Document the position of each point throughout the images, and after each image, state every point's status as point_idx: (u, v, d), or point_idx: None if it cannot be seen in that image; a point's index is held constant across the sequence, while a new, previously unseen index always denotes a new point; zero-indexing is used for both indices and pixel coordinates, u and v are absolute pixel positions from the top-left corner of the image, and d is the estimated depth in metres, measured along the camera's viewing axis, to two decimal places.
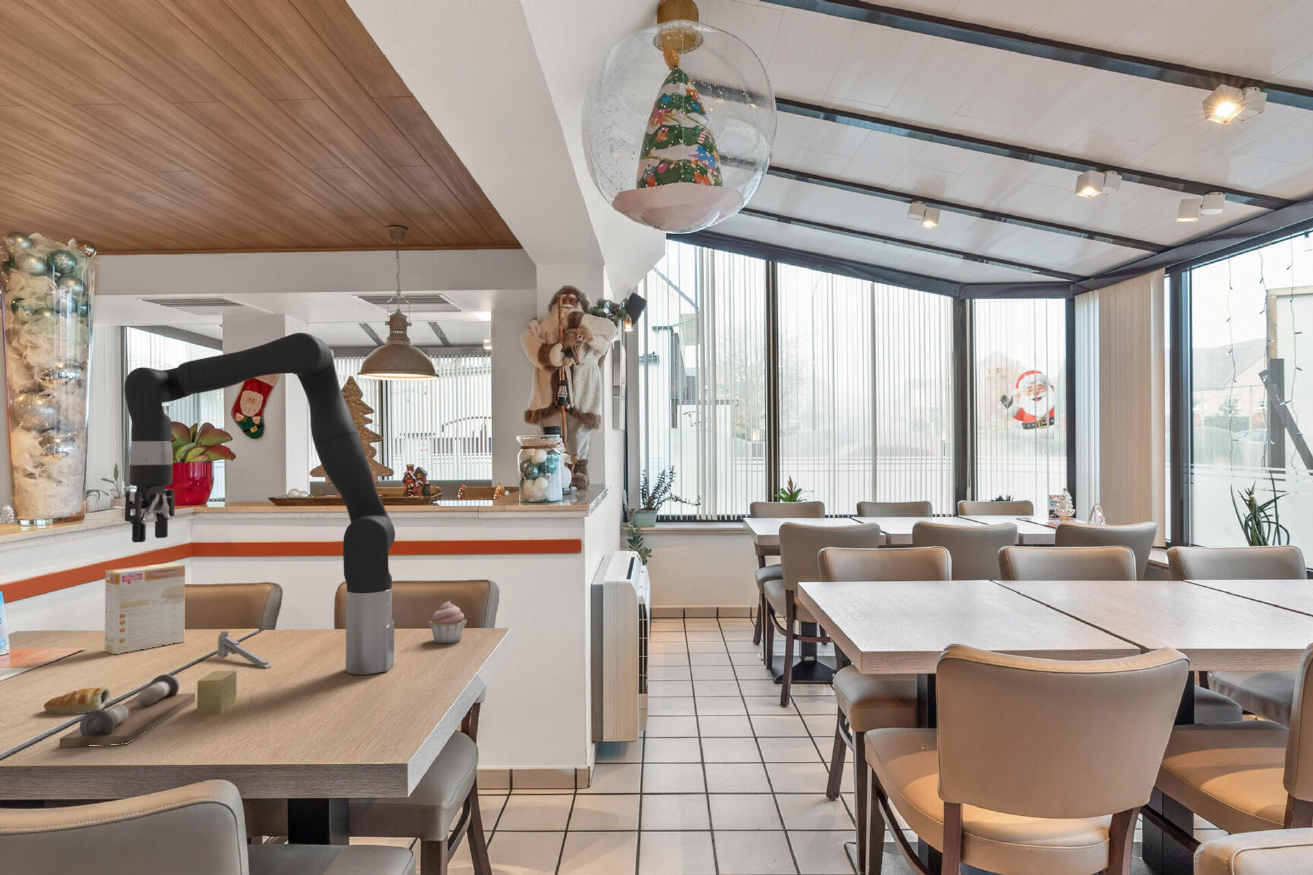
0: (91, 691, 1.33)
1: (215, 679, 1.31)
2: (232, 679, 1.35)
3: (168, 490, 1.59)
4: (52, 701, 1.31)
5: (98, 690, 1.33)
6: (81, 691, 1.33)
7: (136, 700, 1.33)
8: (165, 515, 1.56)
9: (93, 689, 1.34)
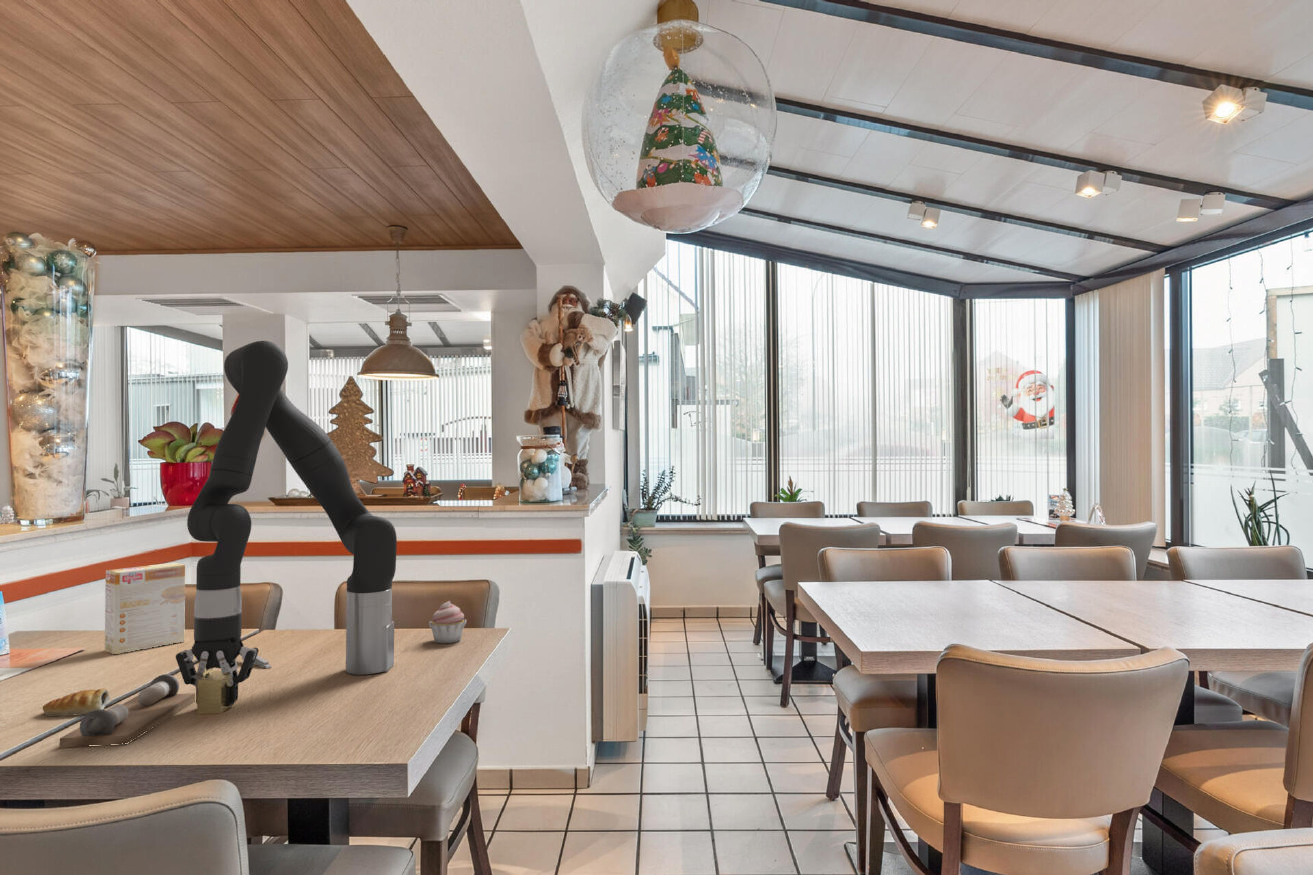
0: (91, 693, 1.32)
1: (215, 679, 1.31)
2: None
3: (185, 651, 1.33)
4: (51, 703, 1.30)
5: (98, 691, 1.33)
6: (81, 693, 1.32)
7: (136, 700, 1.33)
8: None
9: (93, 691, 1.34)
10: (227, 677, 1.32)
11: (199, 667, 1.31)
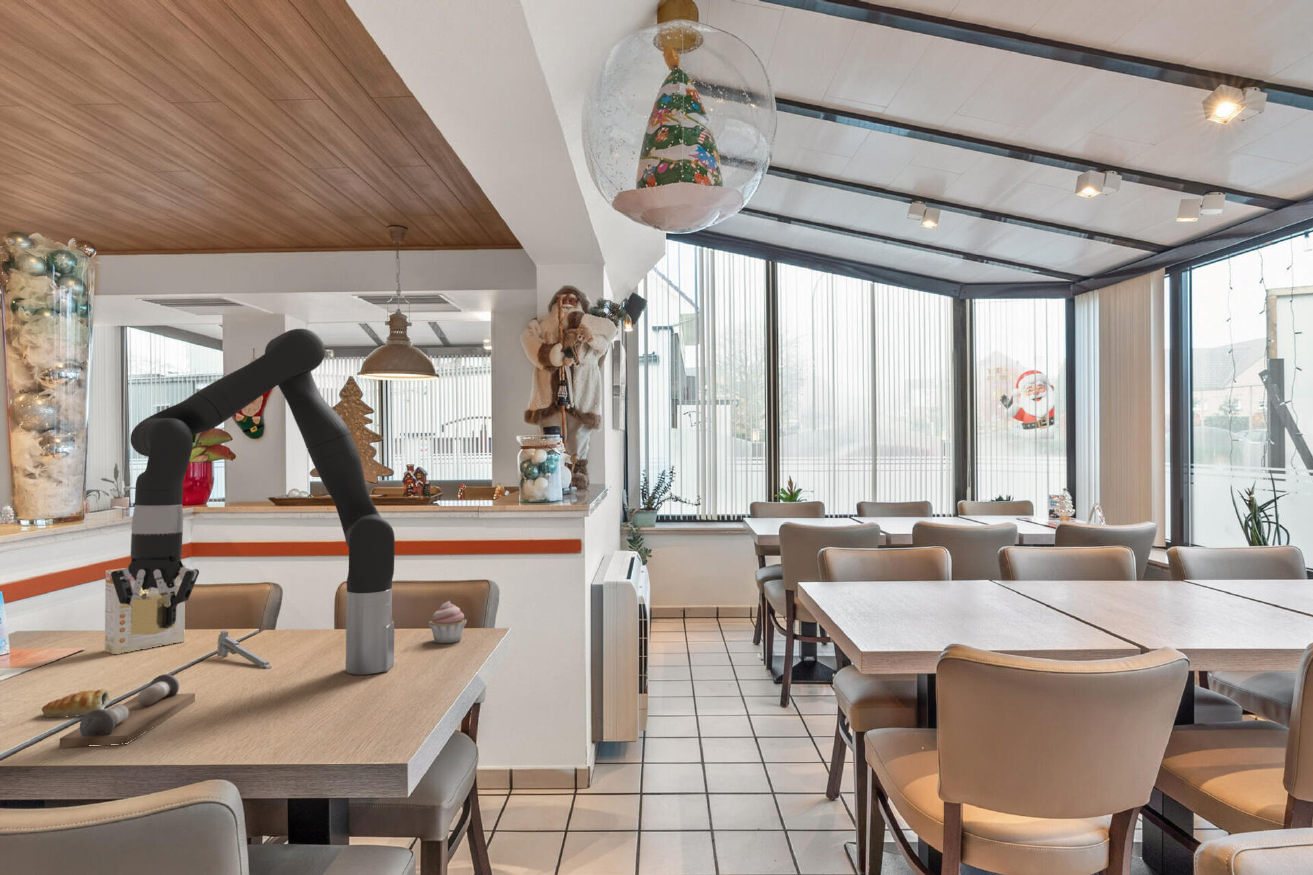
0: (91, 693, 1.32)
1: (151, 598, 1.26)
2: None
3: None
4: (51, 704, 1.29)
5: (99, 692, 1.32)
6: (81, 694, 1.31)
7: (136, 700, 1.33)
8: None
9: (92, 691, 1.33)
10: (164, 597, 1.27)
11: (135, 586, 1.26)
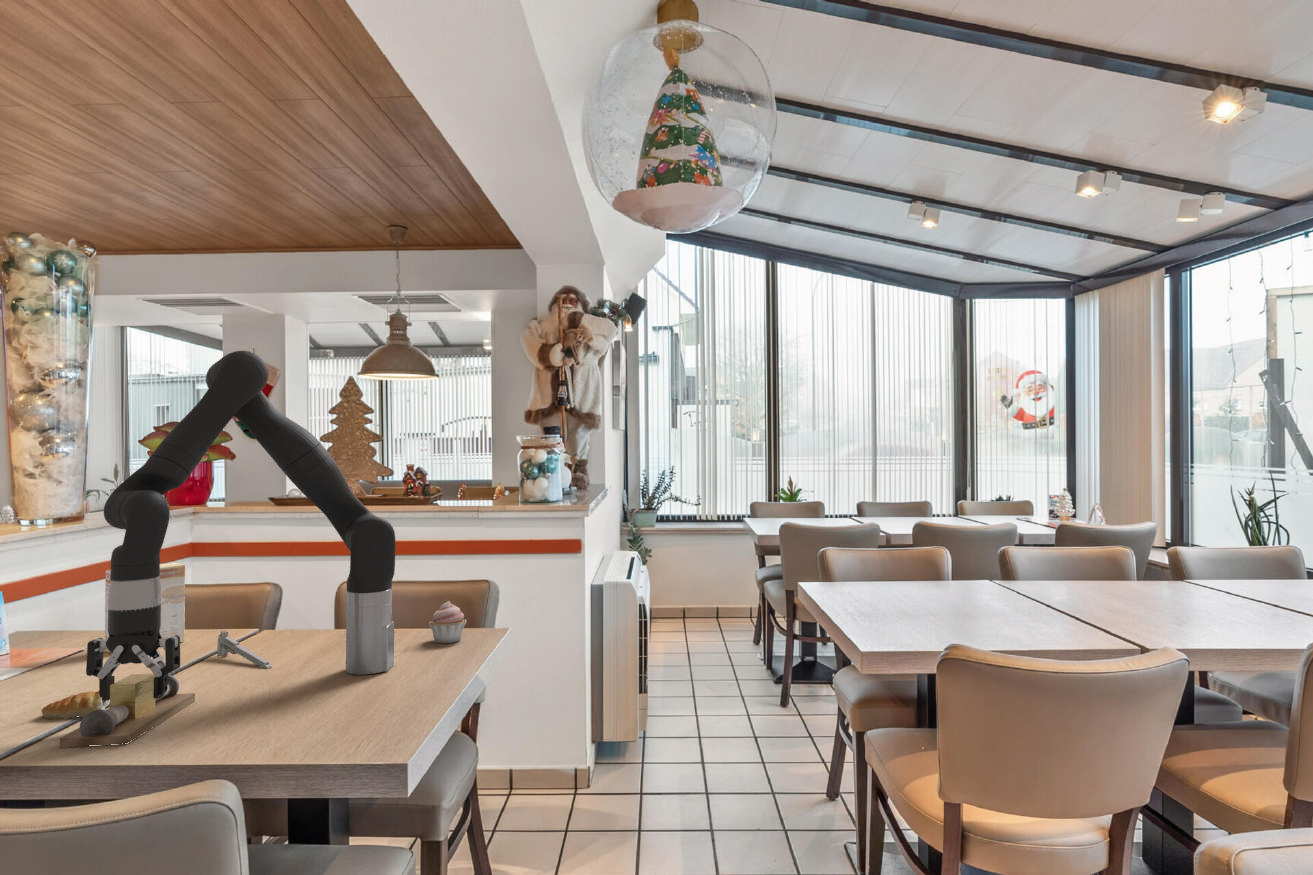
0: (91, 694, 1.31)
1: (129, 683, 1.24)
2: (150, 682, 1.28)
3: (100, 639, 1.26)
4: (51, 705, 1.28)
5: None
6: (81, 695, 1.31)
7: None
8: (115, 669, 1.27)
9: (92, 692, 1.32)
10: (152, 668, 1.25)
11: (109, 659, 1.24)
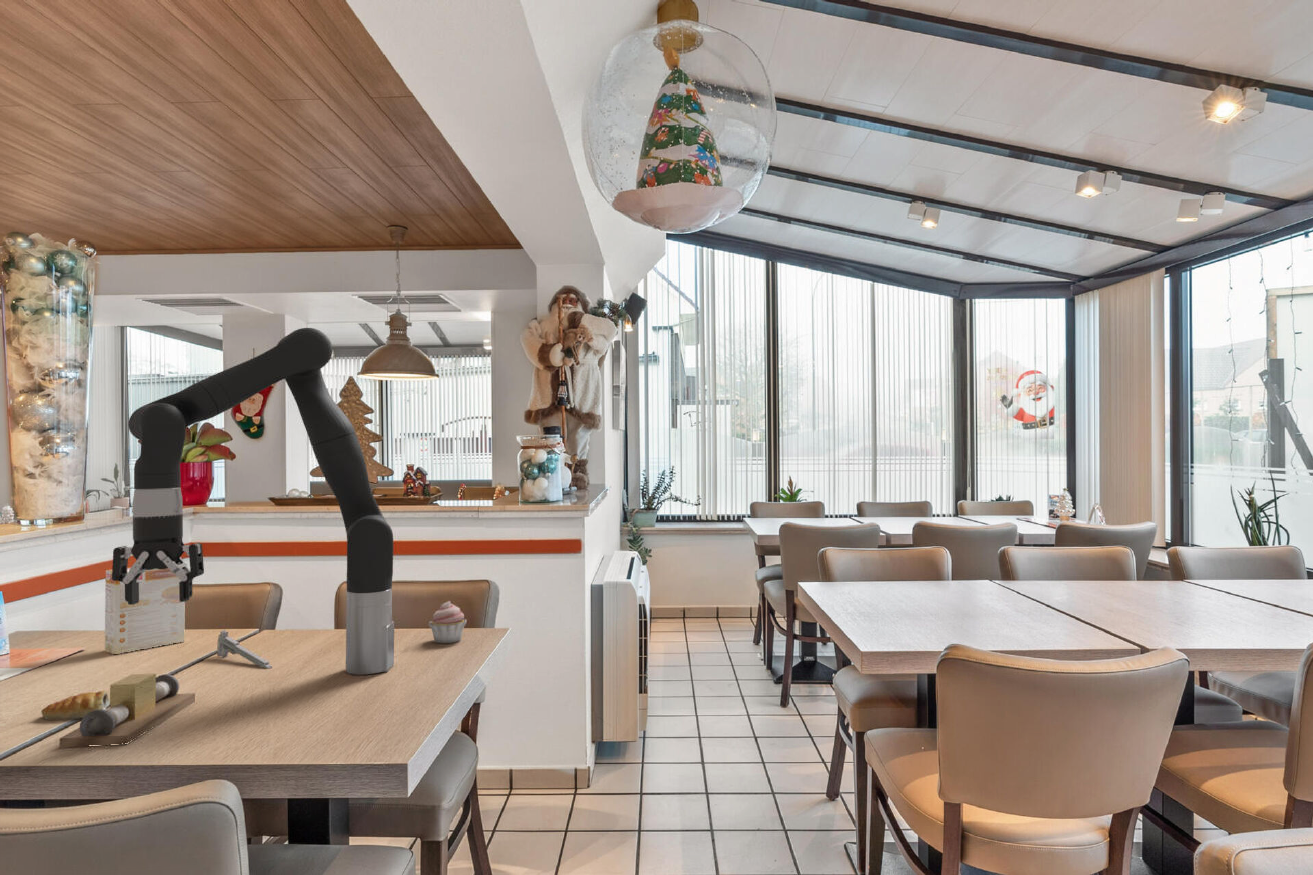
0: (92, 695, 1.31)
1: (129, 683, 1.24)
2: (150, 682, 1.28)
3: None
4: (51, 706, 1.28)
5: (100, 694, 1.31)
6: (81, 695, 1.30)
7: None
8: (139, 575, 1.32)
9: (93, 693, 1.32)
10: (178, 573, 1.31)
11: (134, 565, 1.30)
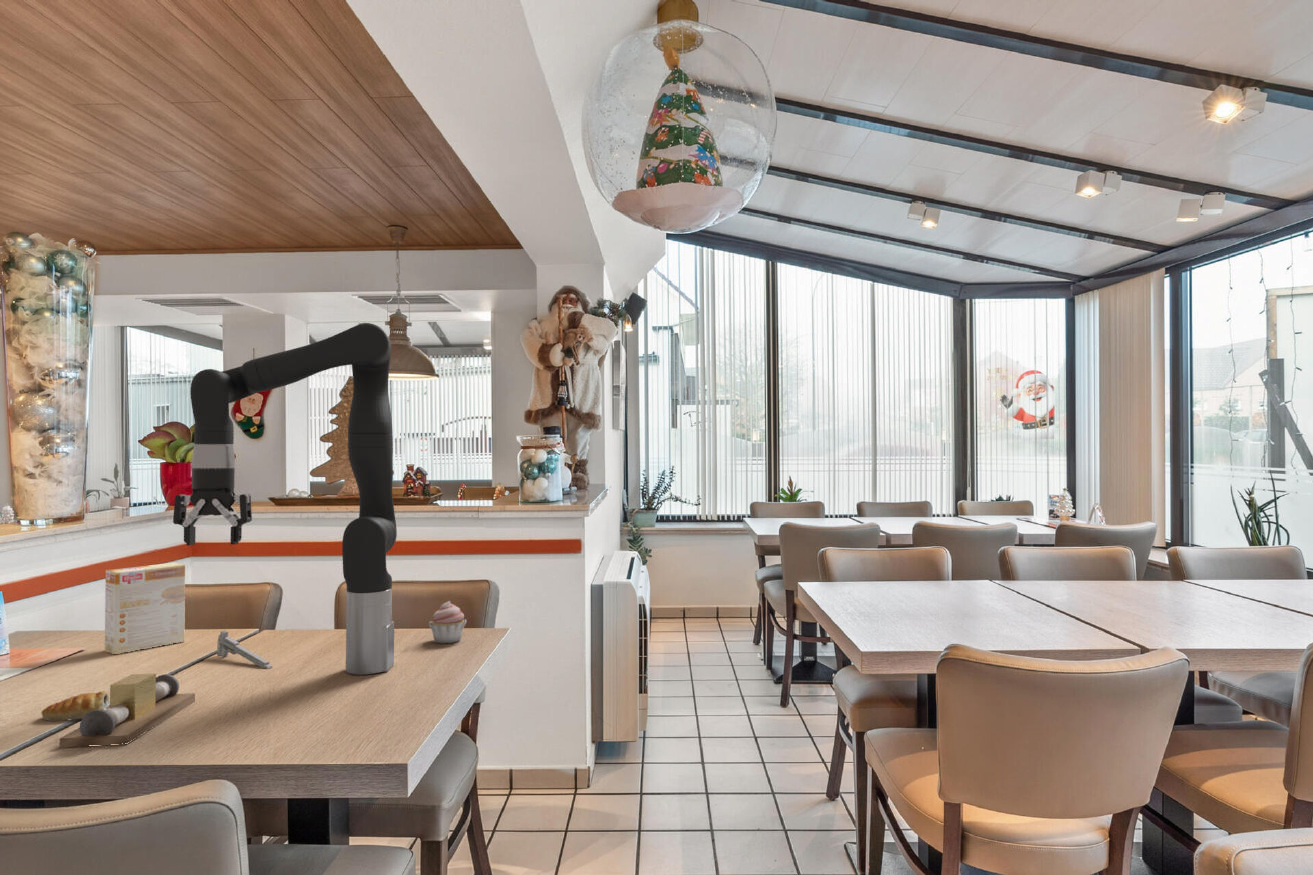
0: (93, 695, 1.31)
1: (129, 683, 1.24)
2: (150, 682, 1.28)
3: None
4: (51, 707, 1.27)
5: (100, 694, 1.31)
6: (82, 696, 1.30)
7: None
8: (196, 521, 1.51)
9: (93, 694, 1.32)
10: (229, 519, 1.49)
11: (192, 510, 1.48)
